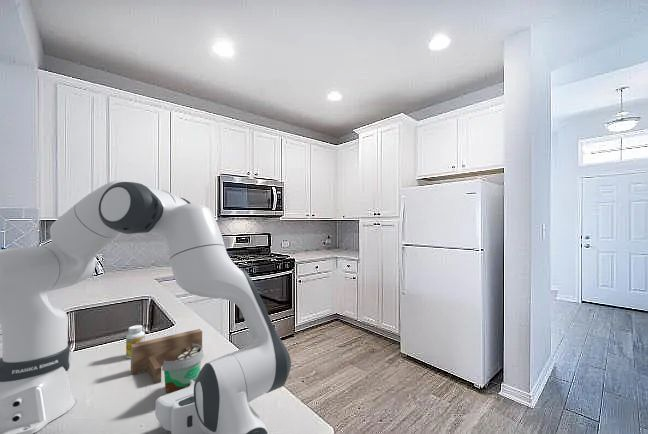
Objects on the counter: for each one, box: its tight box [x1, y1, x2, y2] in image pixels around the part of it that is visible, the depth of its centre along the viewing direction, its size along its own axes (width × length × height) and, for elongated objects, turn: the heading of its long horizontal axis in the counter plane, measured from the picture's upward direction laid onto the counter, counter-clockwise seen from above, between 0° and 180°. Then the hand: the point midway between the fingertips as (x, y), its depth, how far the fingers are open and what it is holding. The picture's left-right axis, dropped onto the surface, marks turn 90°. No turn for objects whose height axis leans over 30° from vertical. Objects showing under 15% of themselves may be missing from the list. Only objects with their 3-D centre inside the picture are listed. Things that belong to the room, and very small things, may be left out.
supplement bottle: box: [125, 324, 146, 360], centre depth 100 cm, size 5×5×10 cm
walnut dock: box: [130, 328, 203, 384], centre depth 91 cm, size 20×13×8 cm, turn 131°
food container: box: [161, 344, 205, 395], centre depth 78 cm, size 12×6×10 cm, turn 168°
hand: (195, 381), depth 73 cm, fingers closed
